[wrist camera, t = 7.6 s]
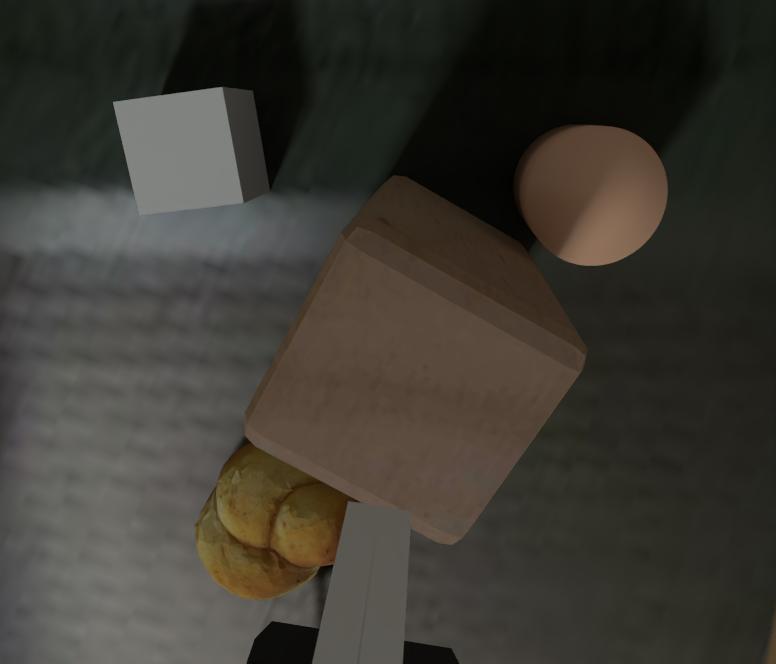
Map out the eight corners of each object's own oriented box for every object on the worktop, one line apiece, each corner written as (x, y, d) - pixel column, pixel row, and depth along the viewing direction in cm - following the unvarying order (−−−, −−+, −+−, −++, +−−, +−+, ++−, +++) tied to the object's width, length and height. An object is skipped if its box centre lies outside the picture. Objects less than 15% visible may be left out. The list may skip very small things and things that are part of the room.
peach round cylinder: (503, 232, 42) (514, 254, 35) (525, 116, 40) (542, 116, 33) (614, 249, 42) (647, 275, 35) (643, 133, 40) (684, 137, 33)
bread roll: (278, 590, 52) (249, 672, 44) (175, 517, 50) (128, 588, 43) (384, 480, 48) (373, 549, 41) (276, 397, 47) (243, 452, 39)
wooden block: (392, 167, 41) (350, 211, 22) (532, 247, 42) (605, 356, 23) (319, 303, 44) (226, 444, 25) (450, 375, 45) (456, 564, 26)
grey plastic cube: (179, 202, 43) (139, 215, 37) (158, 103, 41) (112, 102, 36) (270, 191, 42) (243, 203, 37) (253, 90, 41) (222, 86, 35)
